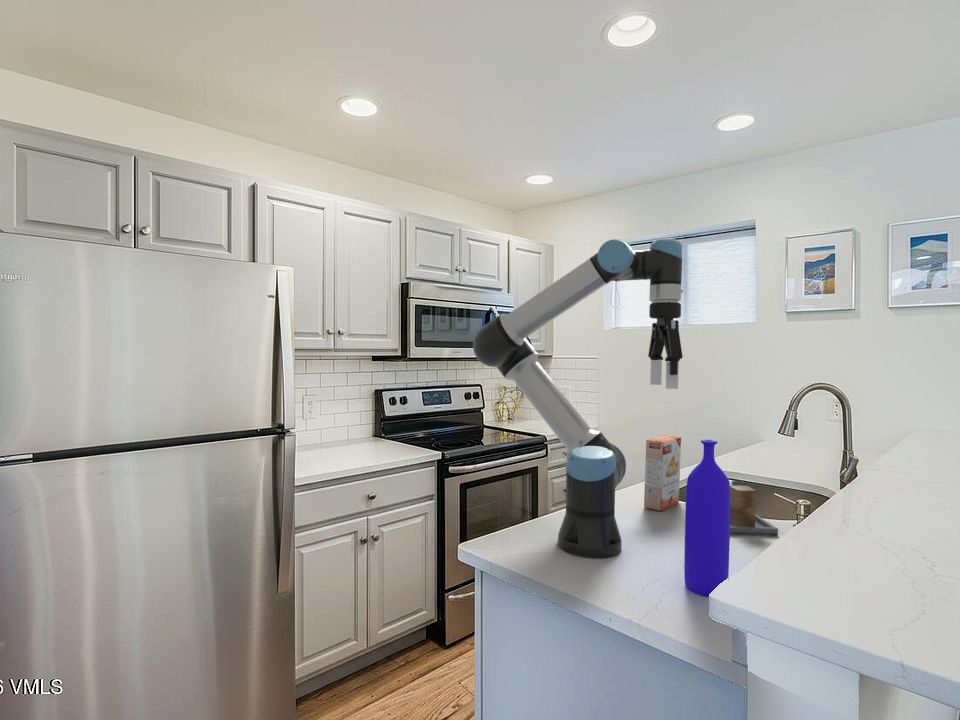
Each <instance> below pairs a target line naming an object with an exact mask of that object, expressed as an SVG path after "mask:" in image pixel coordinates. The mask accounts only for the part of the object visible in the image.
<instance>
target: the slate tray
mask: <svg viewBox="0 0 960 720" xmlns="http://www.w3.org/2000/svg"><path fill="white" fill-rule="evenodd" d="M730 535H743V536H746V535H747V536H774V537H775V535H778V536H779V528H777V527H776V526H774V525H773V524H771V523H770V522H768V521H767V520H766V519H764V518H763V517H761V516H759V515H758V514H757V513H755V527H740V526H734V525H733V524H731V523H730Z"/></svg>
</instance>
